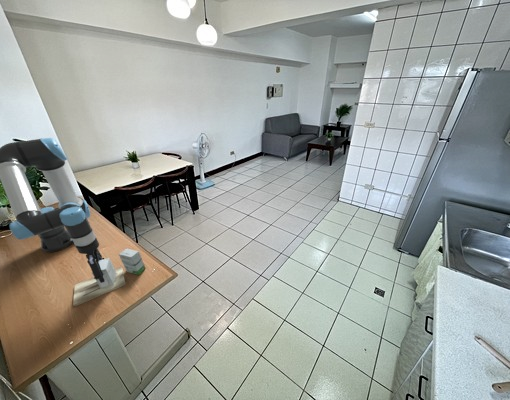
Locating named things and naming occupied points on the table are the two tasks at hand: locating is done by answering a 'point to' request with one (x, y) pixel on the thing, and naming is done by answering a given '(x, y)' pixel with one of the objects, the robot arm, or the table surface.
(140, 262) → the ink box
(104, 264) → the small box
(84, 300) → the board
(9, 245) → the table surface
